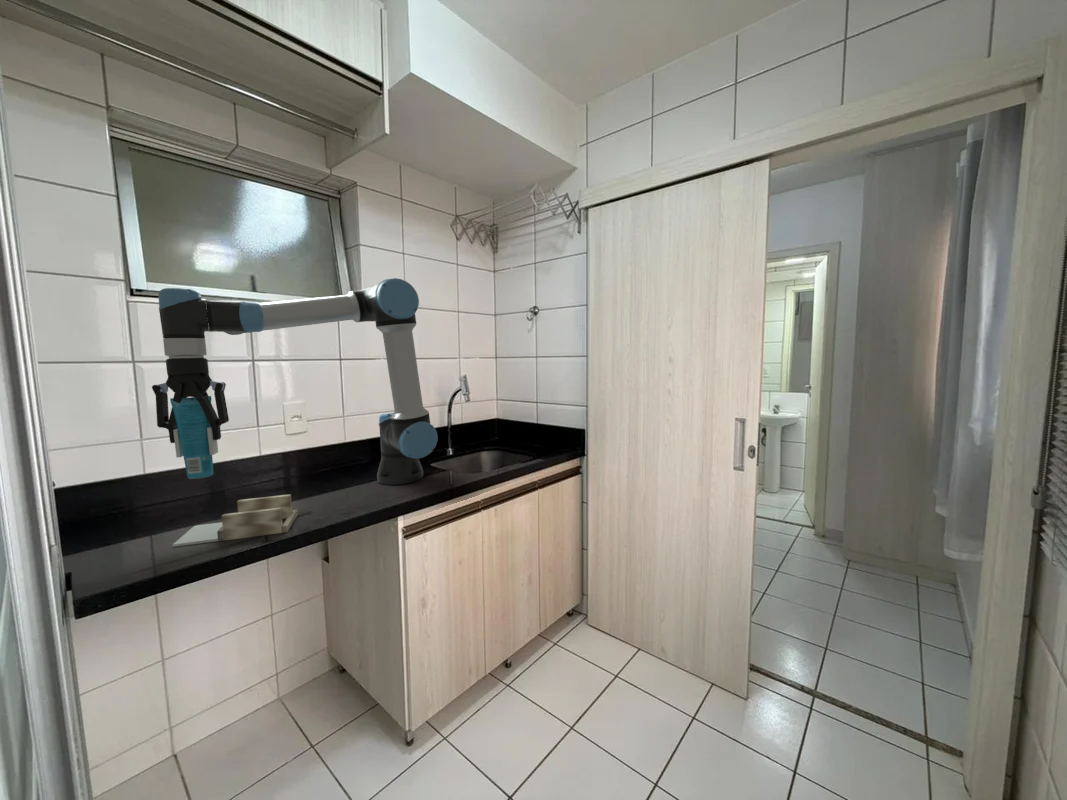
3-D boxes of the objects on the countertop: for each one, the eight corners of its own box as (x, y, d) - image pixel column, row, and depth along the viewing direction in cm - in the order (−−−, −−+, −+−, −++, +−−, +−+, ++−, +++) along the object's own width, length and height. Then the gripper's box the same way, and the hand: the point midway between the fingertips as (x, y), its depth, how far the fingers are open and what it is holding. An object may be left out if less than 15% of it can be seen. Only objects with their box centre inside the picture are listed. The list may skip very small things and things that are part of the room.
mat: (236, 522, 108) (236, 520, 108) (219, 540, 98) (219, 538, 98) (195, 527, 106) (194, 525, 106) (172, 547, 95) (172, 544, 95)
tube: (218, 471, 104) (209, 395, 102) (220, 475, 101) (212, 396, 98) (179, 477, 99) (169, 397, 97) (180, 482, 96) (170, 399, 93)
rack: (297, 515, 113) (295, 493, 112) (287, 531, 102) (285, 508, 102) (235, 522, 108) (233, 500, 108) (218, 541, 98) (215, 516, 97)
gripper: (239, 356, 103) (248, 447, 106) (145, 357, 97) (158, 454, 100) (228, 356, 96) (238, 454, 99) (126, 358, 90) (139, 462, 93)
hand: (197, 454), depth 99 cm, fingers closed on tube, 6 cm apart
